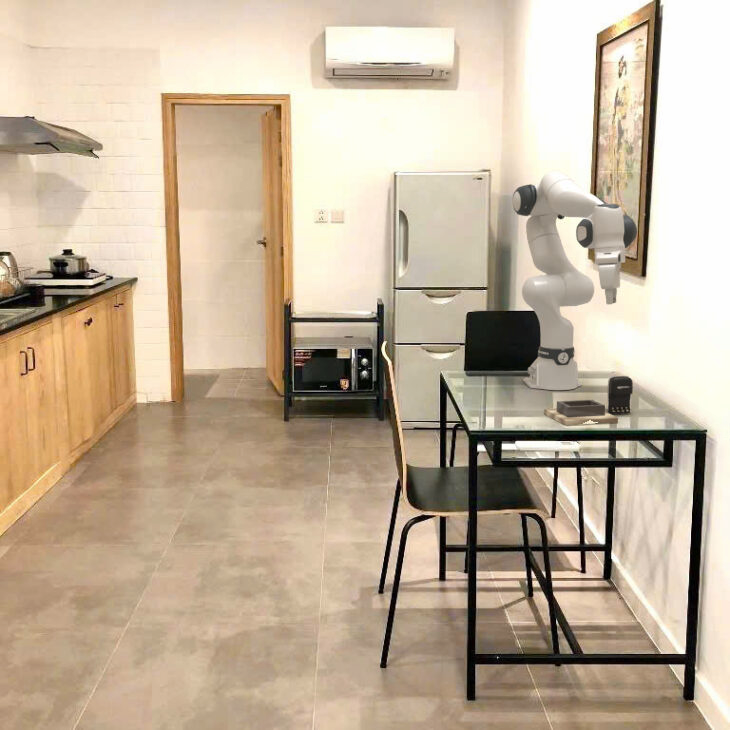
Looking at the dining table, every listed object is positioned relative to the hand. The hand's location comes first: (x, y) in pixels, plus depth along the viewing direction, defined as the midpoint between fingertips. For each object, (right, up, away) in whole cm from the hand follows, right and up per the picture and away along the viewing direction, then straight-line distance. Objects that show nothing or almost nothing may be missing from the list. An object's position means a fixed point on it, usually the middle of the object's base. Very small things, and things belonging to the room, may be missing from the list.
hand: (611, 303), depth 273 cm
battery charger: (+2, -33, 0) cm, 33 cm away
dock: (-11, -34, -6) cm, 36 cm away
